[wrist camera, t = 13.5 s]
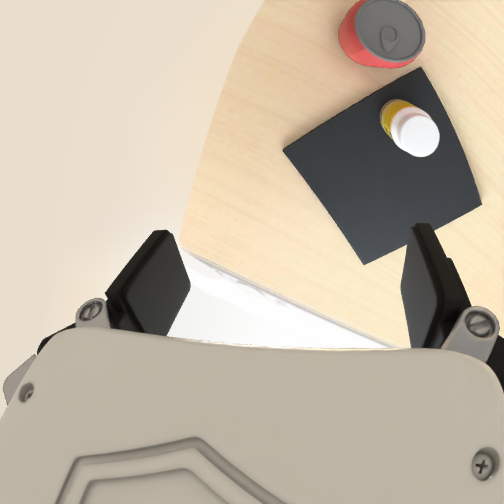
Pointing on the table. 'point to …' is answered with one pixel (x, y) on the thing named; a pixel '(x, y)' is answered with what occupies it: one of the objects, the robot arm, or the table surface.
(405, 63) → the beer can
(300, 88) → the table surface
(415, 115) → the supplement bottle
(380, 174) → the mat
